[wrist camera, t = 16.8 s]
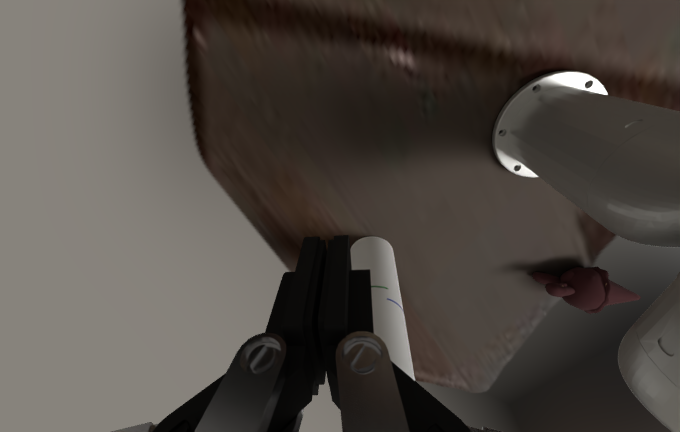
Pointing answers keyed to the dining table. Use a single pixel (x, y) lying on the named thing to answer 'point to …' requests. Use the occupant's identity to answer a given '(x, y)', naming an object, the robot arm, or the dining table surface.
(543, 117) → the robot arm
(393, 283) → the cylindrical container
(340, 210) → the dining table surface
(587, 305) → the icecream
